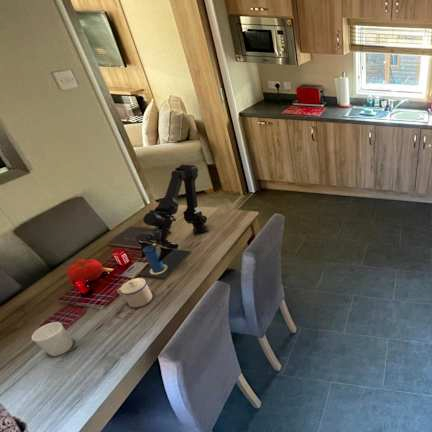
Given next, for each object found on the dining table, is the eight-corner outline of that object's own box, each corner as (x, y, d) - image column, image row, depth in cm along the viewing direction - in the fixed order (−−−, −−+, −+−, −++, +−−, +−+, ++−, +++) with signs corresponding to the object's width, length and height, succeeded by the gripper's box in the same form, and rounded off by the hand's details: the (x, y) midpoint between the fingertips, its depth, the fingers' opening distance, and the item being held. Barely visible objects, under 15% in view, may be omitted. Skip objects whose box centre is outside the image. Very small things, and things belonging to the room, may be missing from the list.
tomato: (108, 277, 146) (100, 263, 141) (75, 290, 139) (65, 275, 134) (103, 266, 152) (95, 252, 147) (71, 278, 144) (61, 263, 139)
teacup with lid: (157, 292, 140) (148, 273, 134) (145, 308, 133) (134, 289, 126) (130, 292, 140) (119, 273, 133) (116, 308, 132) (104, 288, 126)
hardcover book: (150, 250, 163) (148, 247, 162) (109, 245, 165) (107, 242, 163) (170, 232, 176) (169, 229, 175) (132, 228, 178) (131, 225, 177)
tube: (152, 268, 152) (142, 247, 144) (164, 264, 154) (155, 243, 147) (153, 274, 148) (142, 253, 141) (165, 270, 151) (156, 249, 144)
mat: (168, 249, 164) (168, 248, 164) (190, 252, 164) (189, 251, 163) (139, 276, 148) (139, 274, 147) (163, 279, 147) (163, 277, 147)
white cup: (58, 339, 119) (43, 322, 113) (80, 338, 120) (67, 321, 114) (41, 358, 112) (25, 341, 107) (64, 357, 113) (50, 340, 108)
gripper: (131, 220, 143) (118, 253, 140) (165, 228, 139) (152, 262, 137) (152, 225, 154) (140, 256, 151) (184, 233, 150) (172, 264, 147)
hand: (150, 259), depth 146 cm, fingers open, 9 cm apart
